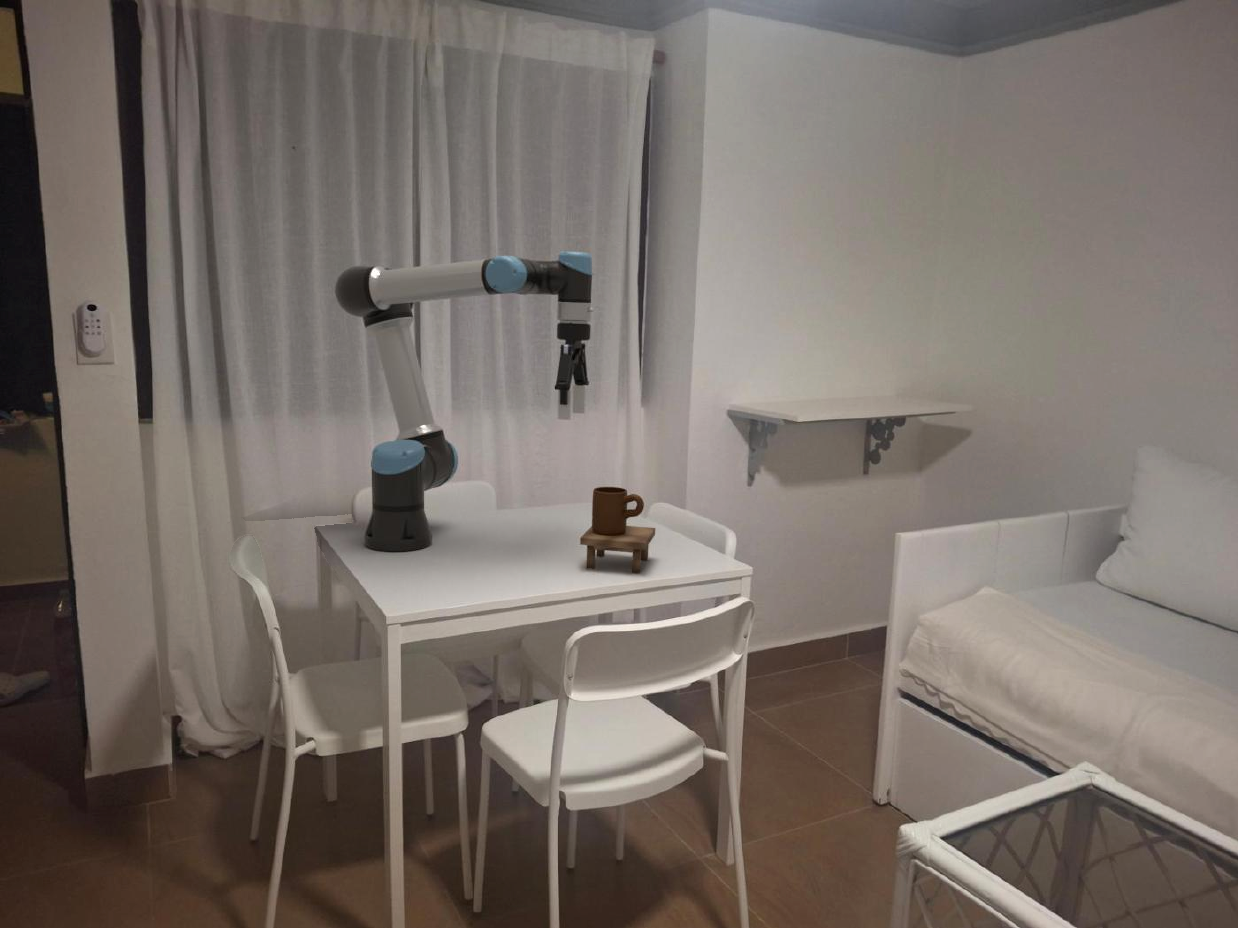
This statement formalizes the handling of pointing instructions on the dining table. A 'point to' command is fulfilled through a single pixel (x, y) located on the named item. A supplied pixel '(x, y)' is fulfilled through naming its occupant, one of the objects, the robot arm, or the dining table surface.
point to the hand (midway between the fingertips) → (571, 416)
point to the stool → (619, 544)
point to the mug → (613, 510)
